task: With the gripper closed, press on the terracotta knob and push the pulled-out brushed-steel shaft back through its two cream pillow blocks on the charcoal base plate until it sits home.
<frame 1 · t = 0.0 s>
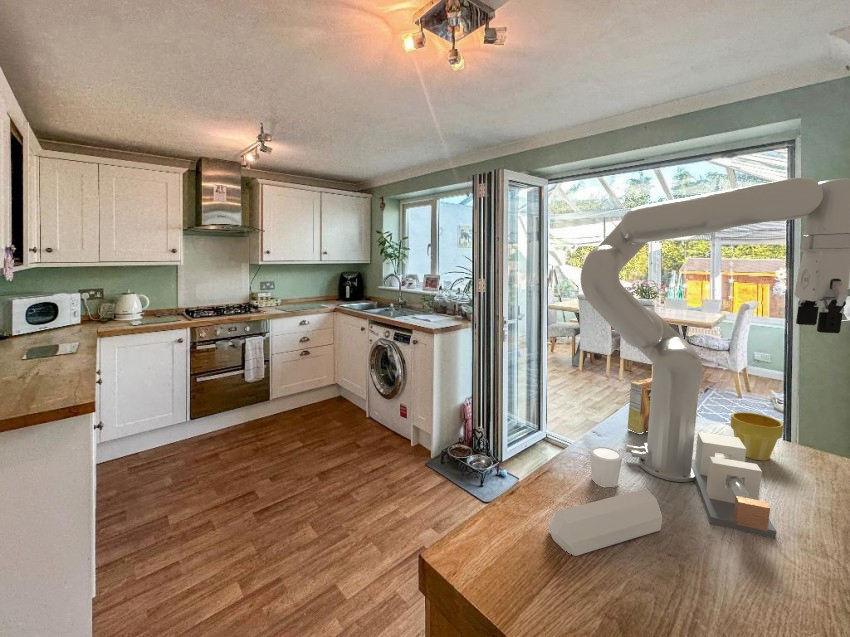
hand: (816, 328, 81), 37 cm above the table, tool pointing down, fingers open, 9 cm apart
bearing base: (723, 491, 87), on the table
crystal: (604, 533, 75), on the table
shot glass: (604, 481, 92), on the table
plant pot: (752, 455, 103), on the table
shaft: (737, 486, 79), point 6 cm above the table, slide at 8.0 cm
candy box: (642, 430, 118), on the table
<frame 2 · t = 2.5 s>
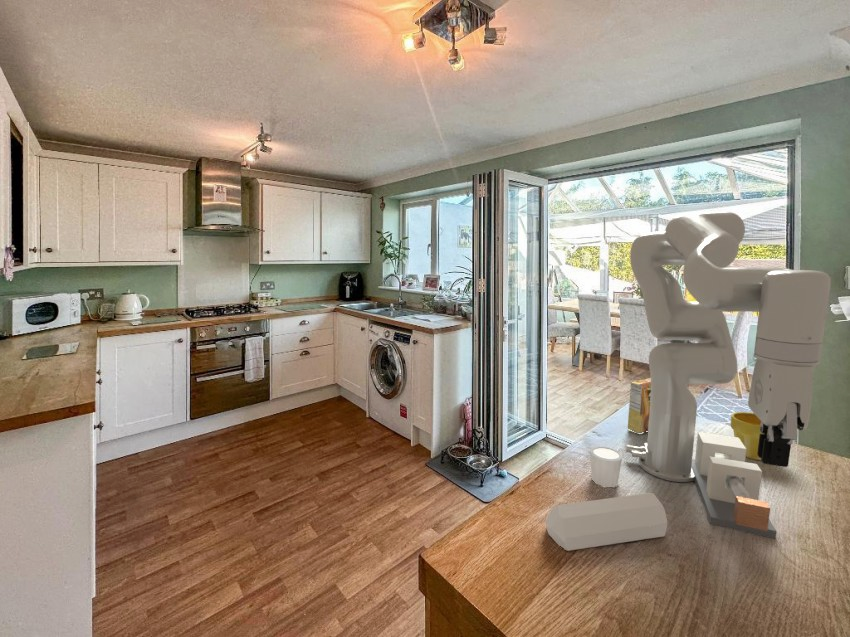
hand: (772, 461, 63), 19 cm above the table, tool pointing down, fingers closed
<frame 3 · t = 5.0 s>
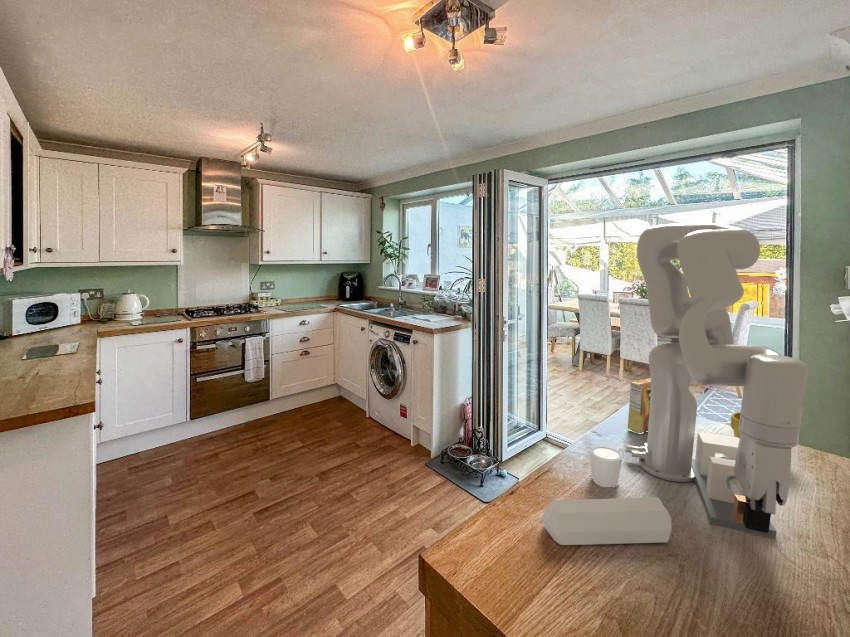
hand: (755, 527, 68), 5 cm above the table, tool pointing down, fingers closed
shaft: (736, 485, 79), point 6 cm above the table, slide at 7.5 cm, touching gripper
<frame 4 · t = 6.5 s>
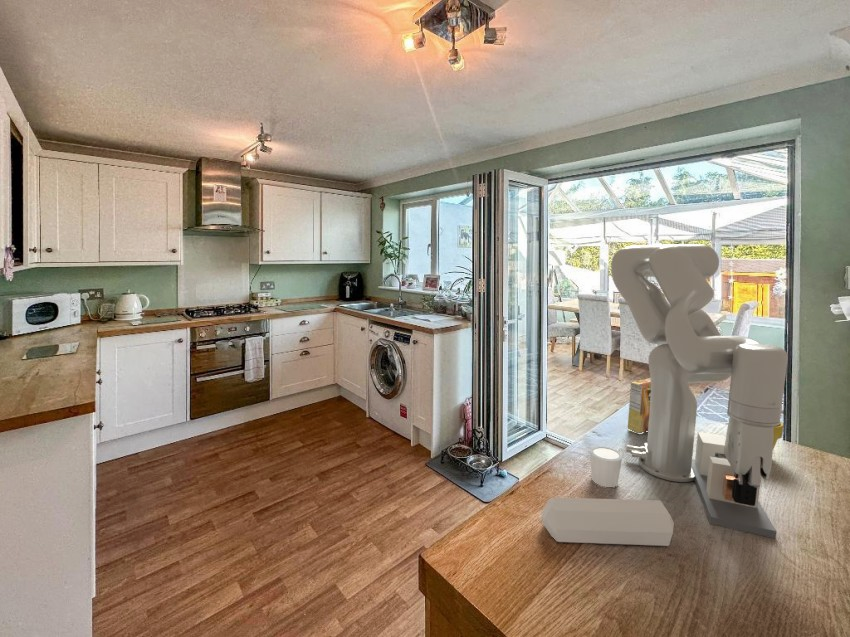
hand: (743, 501, 75), 5 cm above the table, tool pointing down, fingers closed
shaft: (726, 467, 86), point 6 cm above the table, slide at -0.1 cm, touching gripper
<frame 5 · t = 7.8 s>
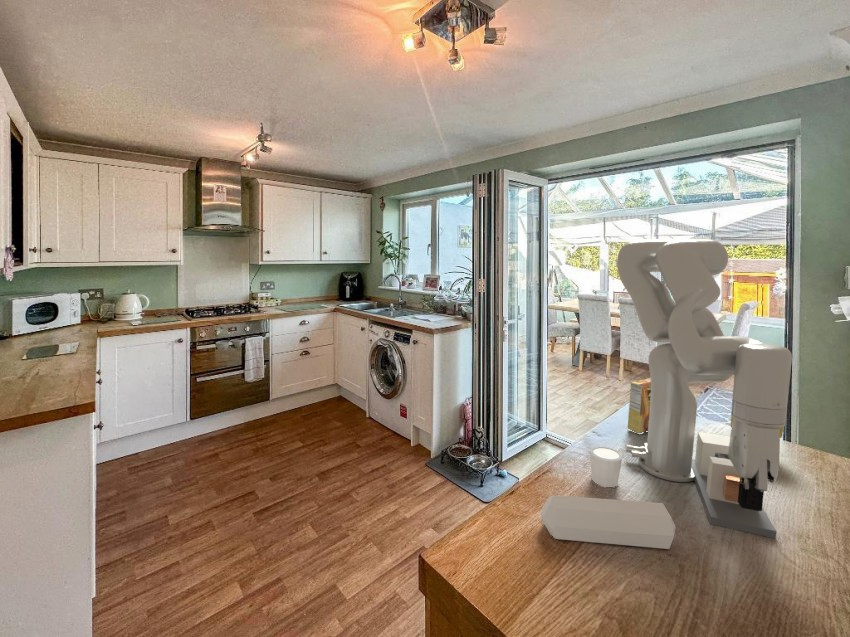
hand: (749, 507, 73), 6 cm above the table, tool pointing down, fingers closed
shaft: (726, 467, 86), point 6 cm above the table, slide at 0.0 cm
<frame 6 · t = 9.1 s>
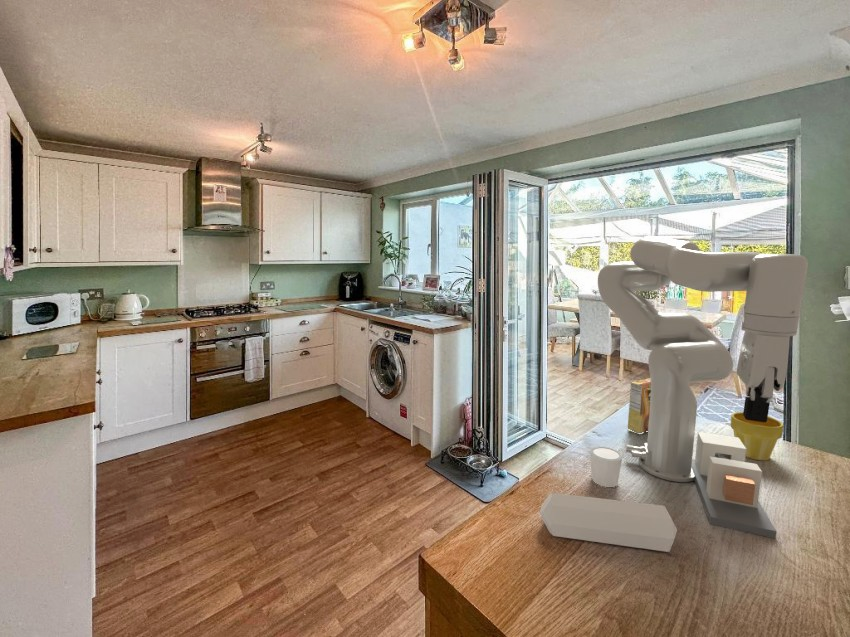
hand: (754, 419, 74), 21 cm above the table, tool pointing down, fingers closed
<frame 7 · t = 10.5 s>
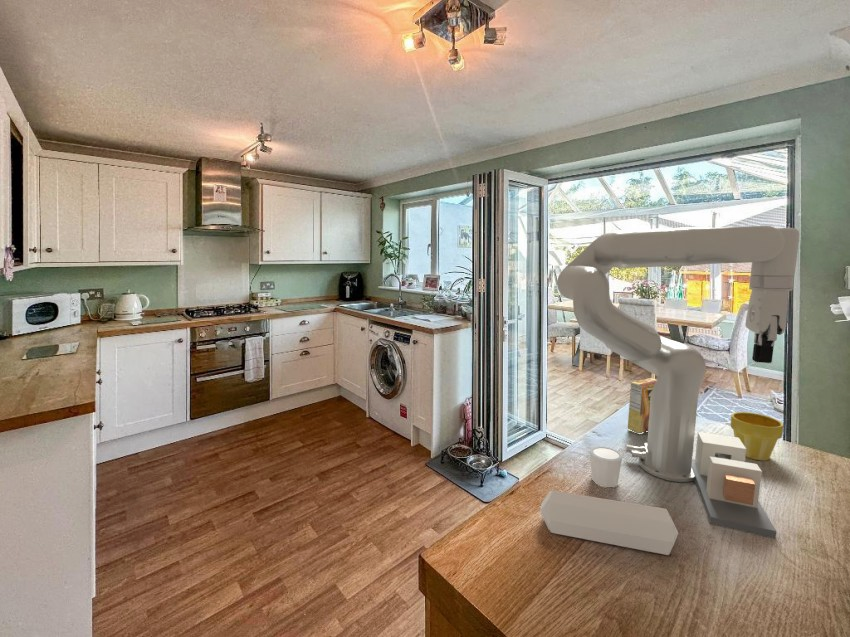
hand: (761, 361, 92), 27 cm above the table, tool pointing down, fingers closed
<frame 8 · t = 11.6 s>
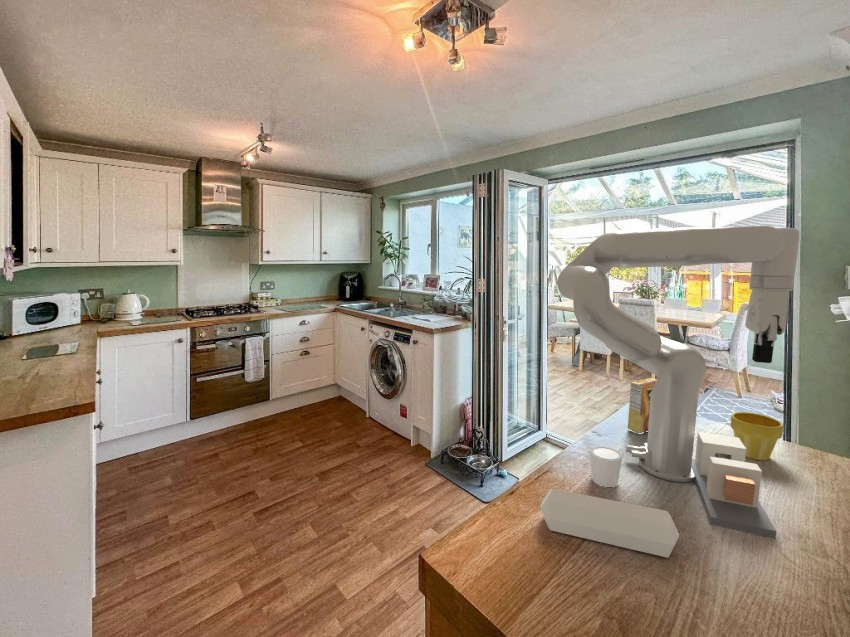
hand: (761, 361, 92), 27 cm above the table, tool pointing down, fingers closed
at the end: shaft slide at 0.0 cm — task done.
